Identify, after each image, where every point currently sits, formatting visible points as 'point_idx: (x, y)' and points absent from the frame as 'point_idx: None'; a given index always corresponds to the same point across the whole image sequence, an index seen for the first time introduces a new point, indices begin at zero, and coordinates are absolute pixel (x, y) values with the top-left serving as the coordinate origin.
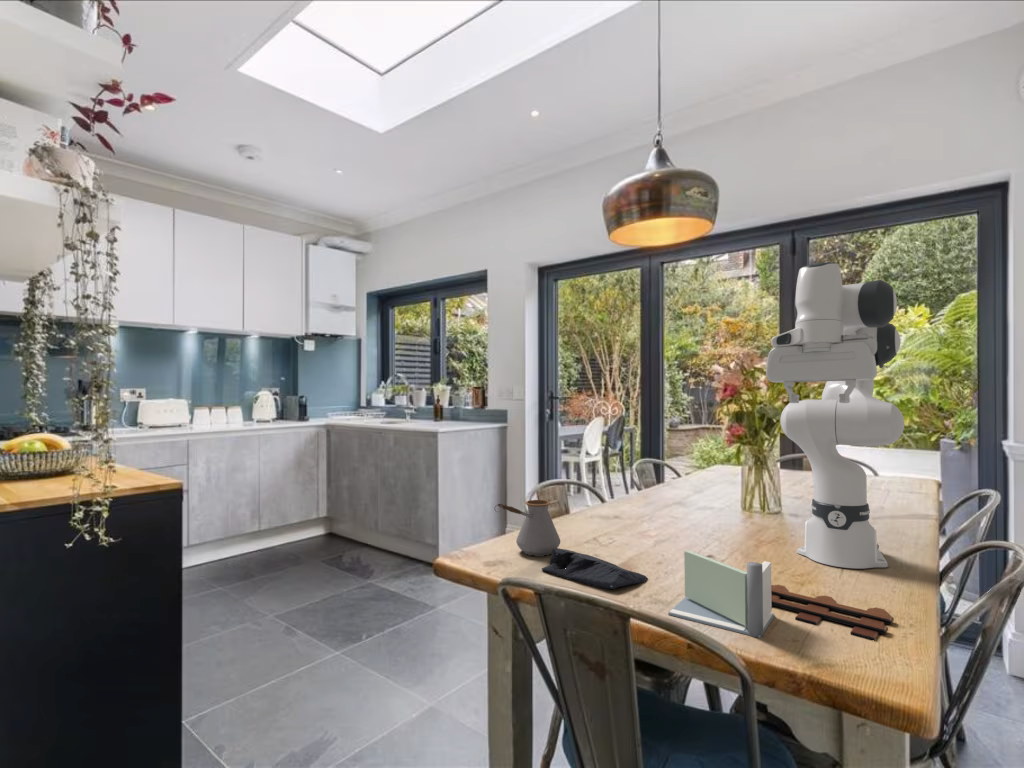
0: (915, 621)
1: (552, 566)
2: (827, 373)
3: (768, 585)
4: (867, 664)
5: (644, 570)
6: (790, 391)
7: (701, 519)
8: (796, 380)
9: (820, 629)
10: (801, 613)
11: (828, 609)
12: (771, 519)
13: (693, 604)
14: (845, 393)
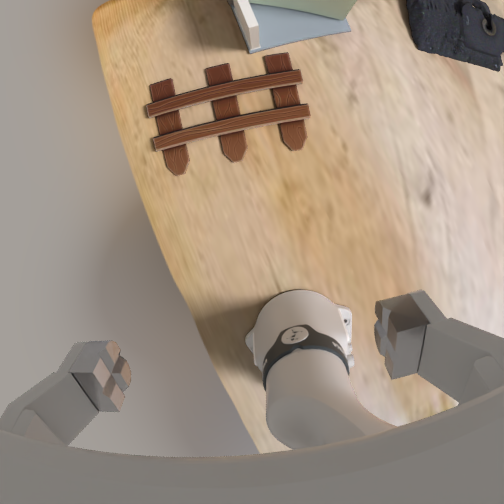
0: (145, 175)
1: (482, 5)
2: (81, 498)
3: (244, 23)
4: (137, 35)
5: (441, 75)
6: (450, 335)
7: None
8: (446, 411)
9: (197, 63)
10: (229, 77)
11: (216, 118)
12: (420, 407)
13: None
14: (62, 372)
